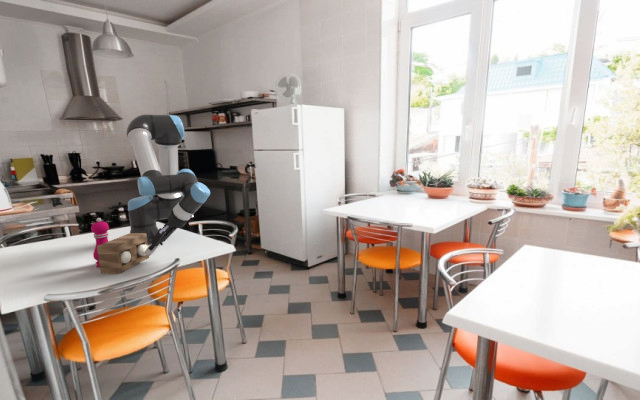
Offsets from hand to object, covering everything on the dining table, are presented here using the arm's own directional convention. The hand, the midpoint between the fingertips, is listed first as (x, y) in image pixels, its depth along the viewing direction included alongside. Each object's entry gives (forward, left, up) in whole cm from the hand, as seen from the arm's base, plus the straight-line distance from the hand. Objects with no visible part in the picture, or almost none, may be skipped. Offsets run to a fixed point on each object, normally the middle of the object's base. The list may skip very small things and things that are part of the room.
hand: (147, 253), depth 136 cm
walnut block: (+2, -8, -4) cm, 9 cm away
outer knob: (+7, -9, -1) cm, 11 cm away
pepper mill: (0, -17, -4) cm, 17 cm away
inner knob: (-2, -5, -1) cm, 5 cm away
